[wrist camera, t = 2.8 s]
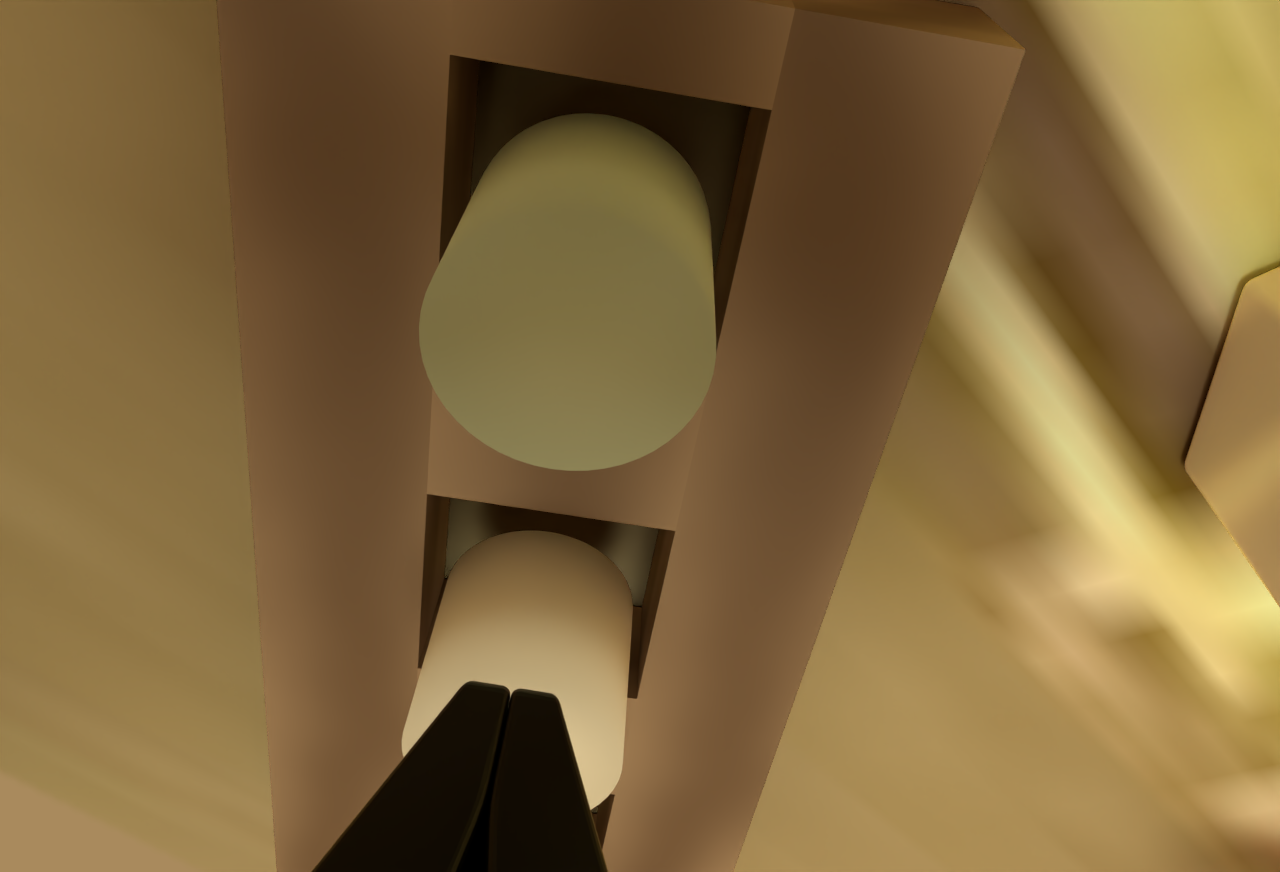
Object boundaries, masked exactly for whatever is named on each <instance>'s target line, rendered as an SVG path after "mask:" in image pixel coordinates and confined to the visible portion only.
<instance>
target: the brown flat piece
mask: <svg viewBox="0 0 1280 872" xmlns="http://www.w3.org/2000/svg"><path fill="white" fill-rule="evenodd" d="M217 14H218V28H219V43H220V57H221V72H222V86H223V101H224V115H225V129H226V144H227V158H228V173H229V187H230V202H231V216H232V231H233V245H234V259H235V274H236V288H237V303H238V317H239V332H240V346H241V361H242V375H243V389H244V404H245V418H246V433H247V447H248V462H249V476H250V491H251V505H252V519H253V534H254V548H255V563H256V577H257V592H258V606H259V621H260V635H261V649H262V664H263V678H264V693H265V707H266V722H267V736H268V751H269V765H270V779H271V794H272V808H273V823H274V837H275V852H276V866H277V872H311V871H312V870H313V869H314V868H315V866H316V865H317V864H318V863H319V861H320V860H321V859H322V858H323V856H324V855H325V854H326V853H327V851H328V850H329V849H330V848H331V847H332V845H333V844H334V843H335V842H336V840H337V839H338V838H339V837H340V835H341V834H342V833H343V832H344V830H345V829H346V828H347V827H348V826H349V824H350V823H351V822H352V821H353V819H354V818H355V817H356V816H357V814H358V813H359V812H360V811H361V809H362V808H363V807H364V806H365V805H366V803H367V802H368V801H369V800H370V798H371V797H372V796H373V795H374V793H375V792H376V791H377V790H378V788H379V787H380V786H381V785H382V784H383V782H384V781H385V780H386V779H387V777H388V776H389V775H390V774H391V772H392V771H393V770H394V769H395V767H396V766H397V765H398V764H399V763H400V761H401V760H402V759H403V758H404V757H403V753H402V735H403V730H404V727H405V724H406V720H407V717H408V713H409V710H410V706H411V703H412V700H413V696H414V693H415V689H416V686H417V682H418V679H419V676H420V672H421V669H422V665H423V662H424V658H425V655H426V652H427V648H428V645H429V641H430V638H431V634H432V631H433V628H434V624H435V621H436V617H437V614H438V610H439V607H440V604H441V600H442V597H443V593H444V590H445V586H446V583H447V580H448V579H444V575H445V561H446V546H447V531H448V517H449V502H450V497H451V498H458V499H464V500H471V501H478V502H484V503H491V504H498V505H505V506H511V507H518V508H525V509H531V510H538V511H545V512H551V513H558V514H565V515H572V516H578V517H585V518H592V519H598V520H605V521H612V522H618V523H625V524H632V525H639V526H645V527H652V528H659V531H658V536H657V541H656V545H655V550H654V554H653V559H652V564H651V568H650V573H649V577H648V582H647V587H646V591H645V596H644V600H643V605H642V608H641V607H634V606H633V616H632V631H631V646H630V661H629V677H628V692H627V707H626V722H625V738H624V753H623V765H622V772H621V775H620V778H619V781H618V783H617V785H616V786H615V788H614V790H613V791H612V792H611V793H610V794H609V796H608V797H607V798H606V799H605V800H603V801H602V802H601V803H600V804H599V807H598V812H597V814H593V813H592V817H593V820H594V824H595V827H596V831H597V834H598V838H599V841H600V845H601V848H602V852H603V855H604V859H605V862H606V866H607V869H608V872H733V871H734V868H735V865H736V863H737V860H738V857H739V854H740V851H741V849H742V846H743V843H744V840H745V837H746V835H747V832H748V829H749V826H750V823H751V821H752V818H753V815H754V812H755V809H756V807H757V804H758V801H759V798H760V795H761V792H762V790H763V787H764V784H765V781H766V778H767V776H768V773H769V770H770V767H771V764H772V762H773V759H774V756H775V753H776V750H777V748H778V745H779V742H780V739H781V736H782V733H783V731H784V728H785V725H786V722H787V719H788V717H789V714H790V711H791V708H792V705H793V703H794V700H795V697H796V694H797V691H798V689H799V686H800V683H801V680H802V677H803V675H804V672H805V669H806V666H807V663H808V660H809V658H810V655H811V652H812V649H813V646H814V644H815V641H816V638H817V635H818V632H819V630H820V627H821V624H822V621H823V618H824V616H825V613H826V610H827V607H828V604H829V601H830V599H831V596H832V593H833V590H834V587H835V585H836V582H837V579H838V576H839V573H840V571H841V568H842V565H843V562H844V559H845V557H846V554H847V551H848V548H849V545H850V543H851V540H852V537H853V534H854V531H855V528H856V526H857V523H858V520H859V517H860V514H861V512H862V509H863V506H864V503H865V500H866V498H867V495H868V492H869V489H870V486H871V484H872V481H873V478H874V475H875V472H876V469H877V467H878V464H879V461H880V458H881V455H882V453H883V450H884V447H885V444H886V441H887V439H888V436H889V433H890V430H891V427H892V425H893V422H894V419H895V416H896V413H897V411H898V408H899V405H900V402H901V399H902V396H903V394H904V391H905V388H906V385H907V382H908V380H909V377H910V374H911V371H912V368H913V366H914V363H915V360H916V357H917V354H918V352H919V349H920V346H921V343H922V340H923V337H924V335H925V332H926V329H927V326H928V323H929V321H930V318H931V315H932V312H933V309H934V307H935V304H936V301H937V298H938V295H939V293H940V290H941V287H942V284H943V281H944V279H945V276H946V273H947V270H948V267H949V264H950V262H951V259H952V256H953V253H954V250H955V248H956V245H957V242H958V239H959V236H960V234H961V231H962V228H963V225H964V222H965V220H966V217H967V214H968V211H969V208H970V205H971V203H972V200H973V197H974V194H975V191H976V189H977V186H978V183H979V180H980V177H981V175H982V172H983V169H984V166H985V163H986V161H987V158H988V155H989V152H990V149H991V147H992V144H993V141H994V138H995V135H996V132H997V130H998V127H999V124H1000V121H1001V118H1002V116H1003V113H1004V110H1005V107H1006V104H1007V102H1008V99H1009V96H1010V93H1011V90H1012V88H1013V85H1014V82H1015V79H1016V76H1017V73H1018V71H1019V68H1020V65H1021V62H1022V59H1023V57H1024V54H1025V51H1026V49H1024V48H1023V47H1022V46H1021V45H1020V44H1019V43H1018V42H1017V41H1015V40H1014V39H1013V38H1012V37H1011V36H1010V35H1009V34H1008V33H1006V32H1005V31H1004V30H1003V29H1002V28H1001V27H1000V26H998V25H997V24H996V23H995V22H994V21H993V20H992V19H991V18H989V17H988V16H987V15H986V14H985V13H984V12H983V11H982V10H980V9H979V8H977V7H971V6H966V5H960V4H955V3H949V2H944V1H938V0H217ZM480 60H484V61H490V62H495V63H501V64H507V65H513V66H519V67H524V68H530V69H536V70H542V71H547V72H553V73H559V74H565V75H571V76H576V77H582V78H588V79H594V80H600V81H605V82H611V83H617V84H623V85H628V86H634V87H640V88H646V89H652V90H657V91H663V92H669V93H675V94H681V95H686V96H692V97H698V98H704V99H709V100H715V101H721V102H727V103H733V104H738V105H744V106H750V107H751V108H750V113H749V117H748V122H747V127H746V131H745V136H744V140H743V145H742V150H741V154H740V159H739V163H738V168H737V173H736V177H735V182H734V186H733V191H732V196H731V200H730V205H729V209H728V214H727V219H726V223H725V228H724V232H723V237H722V242H721V246H720V251H719V255H718V260H717V265H716V269H715V274H714V278H713V281H714V303H715V324H716V361H715V367H714V374H713V377H712V380H711V383H710V386H709V390H708V392H707V394H706V396H705V398H704V400H703V402H702V404H701V406H700V407H699V409H698V410H697V412H696V413H695V415H694V416H693V418H692V419H691V420H690V421H689V422H688V423H687V425H686V426H685V427H684V428H683V429H682V430H681V431H680V432H679V433H678V434H677V435H675V436H674V437H673V438H672V439H671V440H670V441H668V442H667V443H666V444H664V445H662V446H661V447H659V448H658V449H656V450H655V451H653V452H651V453H649V454H647V455H645V456H643V457H641V458H639V459H636V460H634V461H631V462H628V463H625V464H622V465H618V466H614V467H610V468H605V469H597V470H589V471H566V470H556V469H549V468H544V467H539V466H534V465H531V464H528V463H524V462H521V461H518V460H515V459H513V458H511V457H509V456H506V455H504V454H502V453H500V452H498V451H496V450H494V449H493V448H491V447H489V446H487V445H486V444H484V443H483V442H481V441H480V440H479V439H477V438H476V437H474V436H473V435H472V434H470V433H469V432H468V431H467V430H466V429H465V428H464V427H463V426H462V425H460V424H459V423H458V422H457V421H456V420H455V418H454V417H453V416H452V415H451V414H450V413H449V411H448V410H447V409H446V408H445V406H444V405H443V403H442V402H441V400H440V399H439V397H438V396H437V394H436V393H435V391H434V389H433V387H432V385H431V382H430V380H429V378H428V376H427V373H426V370H425V367H424V364H423V361H422V355H421V350H420V344H419V322H420V313H421V308H422V304H423V300H424V297H425V293H426V291H427V289H428V286H429V284H430V282H431V280H432V277H433V275H434V273H435V271H436V269H437V267H438V265H439V263H440V261H441V259H442V257H443V255H444V253H445V251H446V249H447V247H448V245H449V243H450V241H451V238H452V236H453V234H454V232H455V230H456V228H457V226H458V224H459V222H460V220H461V218H462V216H463V214H464V212H465V210H466V208H467V206H468V204H469V202H470V194H471V179H472V164H473V150H474V135H475V120H476V106H477V91H478V76H479V62H480Z"/></svg>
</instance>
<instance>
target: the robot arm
mask: <svg viewBox="0 0 1280 872" xmlns="http://www.w3.org/2000/svg"><path fill="white" fill-rule="evenodd" d="M311 872H608V869H607V866H606V862H605V859H604V855H603V852H602V848H601V845H600V841H599V838H598V834H597V831H596V827H595V824H594V820H593V817H592V813H591V810H590V806H589V803H588V799H587V796H586V792H585V789H584V785H583V782H582V778H581V775H580V771H579V768H578V764H577V761H576V757H575V754H574V750H573V747H572V743H571V740H570V736H569V733H568V729H567V726H566V722H565V719H564V715H563V712H562V708H561V705H560V702H559V700H558V698H557V697H556V696H555V695H554V694H552V693H547V692H541V691H534V690H528V689H522V688H520V689H516V690H514V691H513V692H512V694H511V697H510V691H509V689H508V688H507V687H505V686H503V685H497V684H490V683H484V682H478V681H469V682H466V683H465V684H464V685H462V686H461V687H460V688H459V690H458V691H457V692H456V693H455V695H454V696H453V697H452V698H451V700H450V701H449V702H448V703H447V704H446V706H445V707H444V708H443V709H442V711H441V712H440V713H439V714H438V716H437V717H436V718H435V719H434V721H433V722H432V723H431V724H430V725H429V727H428V728H427V729H426V730H425V732H424V733H423V734H422V735H421V737H420V738H419V739H418V740H417V742H416V743H415V744H414V745H413V746H412V748H411V749H410V750H409V751H408V753H407V754H406V755H405V756H404V758H403V759H402V760H401V761H400V763H399V764H398V765H397V766H396V767H395V769H394V770H393V771H392V772H391V774H390V775H389V776H388V777H387V779H386V780H385V781H384V782H383V784H382V785H381V786H380V787H379V788H378V790H377V791H376V792H375V793H374V795H373V796H372V797H371V798H370V800H369V801H368V802H367V803H366V805H365V806H364V807H363V808H362V809H361V811H360V812H359V813H358V814H357V816H356V817H355V818H354V819H353V821H352V822H351V823H350V824H349V826H348V827H347V828H346V829H345V830H344V832H343V833H342V834H341V835H340V837H339V838H338V839H337V840H336V842H335V843H334V844H333V845H332V847H331V848H330V849H329V850H328V851H327V853H326V854H325V855H324V856H323V858H322V859H321V860H320V861H319V863H318V864H317V865H316V866H315V868H314V869H313V870H312V871H311Z"/></svg>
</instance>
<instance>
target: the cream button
mask: <svg viewBox="0 0 1280 872" xmlns="http://www.w3.org/2000/svg"><path fill="white" fill-rule="evenodd" d="M632 616H633V600H632V595H631V591H630V588H629V585H628V583H627V581H626V579H625V577H624V576H623V574H622V572H621V571H620V570H619V569H618V567H617V566H616V565H615V564H614V563H613V562H612V561H611V560H610V559H609V558H608V557H607V556H605V555H604V554H603V553H601V552H600V551H599V550H597V549H596V548H594V547H592V546H590V545H588V544H587V543H585V542H582V541H580V540H578V539H575V538H572V537H569V536H566V535H563V534H558V533H553V532H547V531H515V532H509V533H504V534H500V535H497V536H494V537H491V538H488V539H486V540H484V541H482V542H480V543H478V544H476V545H475V546H473V547H472V548H470V549H469V550H468V551H467V552H465V553H464V554H463V555H462V556H461V557H460V558H459V560H458V561H457V562H456V563H455V565H454V566H453V568H452V570H451V572H450V574H449V577H448V580H447V583H446V586H445V590H444V593H443V597H442V600H441V604H440V607H439V610H438V614H437V617H436V621H435V624H434V628H433V631H432V634H431V638H430V641H429V645H428V648H427V652H426V655H425V658H424V662H423V665H422V669H421V672H420V676H419V679H418V682H417V686H416V689H415V693H414V696H413V700H412V703H411V706H410V710H409V713H408V717H407V720H406V724H405V727H404V730H403V735H402V753H403V757H404V756H405V755H406V754H407V753H408V751H409V750H410V749H411V748H412V746H413V745H414V744H415V743H416V742H417V740H418V739H419V738H420V737H421V735H422V734H423V733H424V732H425V730H426V729H427V728H428V727H429V725H430V724H431V723H432V722H433V721H434V719H435V718H436V717H437V716H438V714H439V713H440V712H441V711H442V709H443V708H444V707H445V706H446V704H447V703H448V702H449V701H450V700H451V698H452V697H453V696H454V695H455V693H456V692H457V691H458V690H459V688H460V687H461V686H462V685H464V684H465V683H466V682H469V681H478V682H484V683H490V684H497V685H503V686H505V687H507V688H508V689H509V691H510V697H511V694H512V692H513V691H514V690H516V689H520V688H522V689H528V690H534V691H541V692H547V693H552V694H554V695H555V696H556V697H557V698H558V700H559V702H560V705H561V708H562V712H563V715H564V719H565V722H566V726H567V729H568V733H569V736H570V740H571V743H572V747H573V750H574V754H575V757H576V761H577V764H578V768H579V771H580V775H581V778H582V782H583V785H584V789H585V792H586V796H587V799H588V803H589V806H590V810H591V809H593V808H594V807H596V806H597V805H599V804H600V803H601V802H602V801H603V800H605V799H606V798H607V797H608V796H609V794H610V793H611V792H612V791H613V790H614V788H615V786H616V785H617V783H618V781H619V778H620V775H621V772H622V765H623V753H624V738H625V722H626V707H627V692H628V677H629V661H630V646H631V631H632Z"/></svg>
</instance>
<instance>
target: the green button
mask: <svg viewBox="0 0 1280 872" xmlns="http://www.w3.org/2000/svg"><path fill="white" fill-rule="evenodd" d="M419 344H420V350H421V355H422V361H423V364H424V367H425V370H426V373H427V376H428V378H429V380H430V382H431V385H432V387H433V389H434V391H435V393H436V394H437V396H438V397H439V399H440V400H441V402H442V403H443V405H444V406H445V408H446V409H447V410H448V411H449V413H450V414H451V415H452V416H453V417H454V418H455V420H456V421H457V422H458V423H459V424H460V425H462V426H463V427H464V428H465V429H466V430H467V431H468V432H469V433H470V434H472V435H473V436H474V437H476V438H477V439H479V440H480V441H481V442H483V443H484V444H486V445H487V446H489V447H491V448H493V449H494V450H496V451H498V452H500V453H502V454H504V455H506V456H509V457H511V458H513V459H515V460H518V461H521V462H524V463H528V464H531V465H534V466H539V467H544V468H549V469H556V470H566V471H589V470H597V469H605V468H610V467H614V466H618V465H622V464H625V463H628V462H631V461H634V460H636V459H639V458H641V457H643V456H645V455H647V454H649V453H651V452H653V451H655V450H656V449H658V448H659V447H661V446H662V445H664V444H666V443H667V442H668V441H670V440H671V439H672V438H673V437H674V436H675V435H677V434H678V433H679V432H680V431H681V430H682V429H683V428H684V427H685V426H686V425H687V423H688V422H689V421H690V420H691V419H692V418H693V416H694V415H695V413H696V412H697V410H698V409H699V407H700V406H701V404H702V402H703V400H704V398H705V396H706V394H707V392H708V390H709V386H710V383H711V380H712V377H713V374H714V367H715V361H716V324H715V303H714V281H713V259H712V237H711V221H710V214H709V208H708V204H707V201H706V197H705V194H704V192H703V189H702V187H701V185H700V183H699V180H698V178H697V177H696V175H695V174H694V172H693V170H692V169H691V167H690V166H689V164H688V163H687V162H686V161H685V159H684V158H683V157H682V156H681V155H680V153H679V152H677V151H676V150H675V149H674V148H673V147H672V146H671V145H670V144H669V143H668V142H667V141H665V140H664V139H662V138H661V137H660V136H658V135H657V134H655V133H654V132H652V131H650V130H648V129H646V128H645V127H643V126H641V125H639V124H636V123H633V122H631V121H628V120H626V119H622V118H618V117H614V116H610V115H603V114H593V113H583V114H570V115H563V116H558V117H554V118H551V119H548V120H545V121H542V122H540V123H537V124H535V125H533V126H531V127H529V128H527V129H525V130H524V131H522V132H521V133H519V134H518V135H516V136H514V137H513V138H512V139H511V140H510V141H509V142H508V143H506V144H505V145H504V146H503V147H502V148H501V149H500V150H499V152H498V153H497V154H496V155H495V156H494V157H493V158H492V160H491V162H490V163H489V165H488V166H487V168H486V169H485V171H484V173H483V175H482V177H481V179H480V181H479V183H478V185H477V187H476V189H475V191H474V193H473V195H472V197H471V200H470V202H469V204H468V206H467V208H466V210H465V212H464V214H463V216H462V218H461V220H460V222H459V224H458V226H457V228H456V230H455V232H454V234H453V236H452V238H451V241H450V243H449V245H448V247H447V249H446V251H445V253H444V255H443V257H442V259H441V261H440V263H439V265H438V267H437V269H436V271H435V273H434V275H433V277H432V280H431V282H430V284H429V286H428V289H427V291H426V293H425V297H424V300H423V304H422V308H421V313H420V322H419Z"/></svg>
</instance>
